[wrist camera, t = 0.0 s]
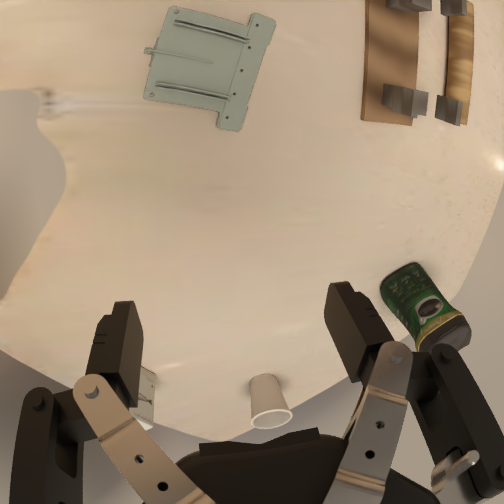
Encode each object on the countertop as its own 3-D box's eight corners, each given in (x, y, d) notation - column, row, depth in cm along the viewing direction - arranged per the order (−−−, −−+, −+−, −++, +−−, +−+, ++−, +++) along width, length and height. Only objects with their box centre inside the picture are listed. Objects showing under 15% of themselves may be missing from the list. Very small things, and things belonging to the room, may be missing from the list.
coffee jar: (383, 306, 58) (427, 379, 43) (375, 280, 54) (427, 357, 39) (423, 283, 57) (474, 348, 42) (419, 255, 53) (478, 323, 37)
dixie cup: (250, 395, 68) (258, 432, 59) (238, 377, 63) (245, 418, 55) (285, 384, 67) (296, 421, 59) (276, 365, 63) (287, 406, 54)
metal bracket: (132, 118, 29) (171, -16, 22) (129, 109, 33) (162, -6, 26) (253, 137, 36) (292, 23, 29) (235, 126, 40) (268, 24, 33)
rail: (443, -2, 28) (460, -3, 25) (461, 6, 29) (478, 6, 25) (437, 116, 39) (454, 122, 36) (455, 120, 40) (471, 126, 36)
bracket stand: (364, -30, 26) (412, -48, 17) (413, -14, 27) (465, -23, 18) (360, 119, 38) (406, 139, 29) (407, 124, 39) (457, 146, 30)
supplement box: (156, 373, 59) (155, 428, 49) (134, 386, 61) (130, 437, 50) (128, 356, 55) (122, 412, 45) (107, 370, 57) (99, 422, 46)
